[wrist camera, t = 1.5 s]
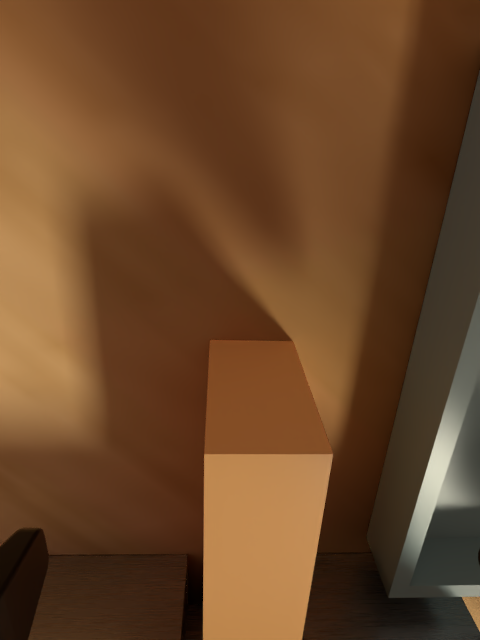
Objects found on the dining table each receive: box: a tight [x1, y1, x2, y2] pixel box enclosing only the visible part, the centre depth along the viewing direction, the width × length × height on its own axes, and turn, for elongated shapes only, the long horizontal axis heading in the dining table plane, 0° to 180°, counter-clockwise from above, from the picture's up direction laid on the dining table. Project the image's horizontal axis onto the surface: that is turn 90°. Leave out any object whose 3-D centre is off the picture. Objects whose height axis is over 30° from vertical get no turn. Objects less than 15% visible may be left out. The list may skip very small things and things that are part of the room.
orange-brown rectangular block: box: [203, 340, 333, 640], centre depth 13 cm, size 2×12×5 cm, turn 178°
